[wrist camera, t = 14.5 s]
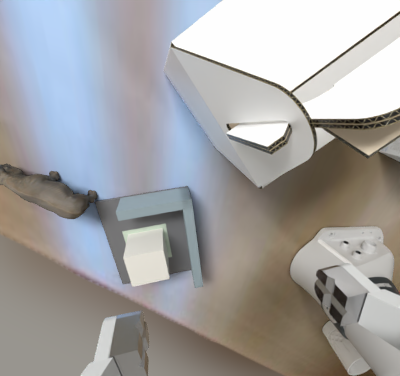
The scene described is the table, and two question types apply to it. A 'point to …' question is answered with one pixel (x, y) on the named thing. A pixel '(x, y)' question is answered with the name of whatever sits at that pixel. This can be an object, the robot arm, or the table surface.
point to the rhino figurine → (46, 192)
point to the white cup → (345, 350)
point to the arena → (154, 227)
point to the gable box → (291, 79)
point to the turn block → (146, 257)
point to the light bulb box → (392, 150)
